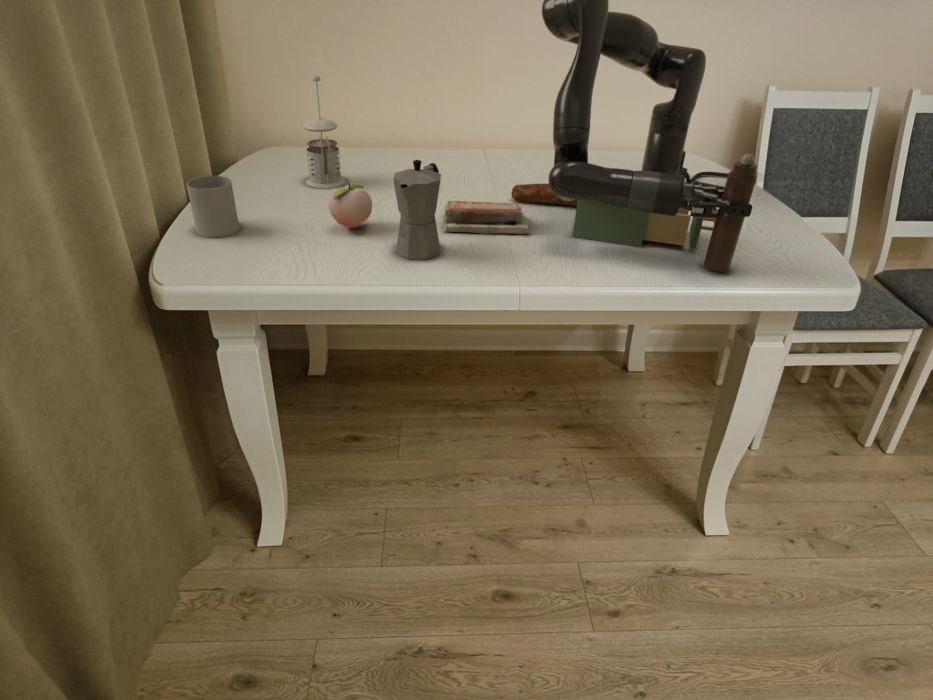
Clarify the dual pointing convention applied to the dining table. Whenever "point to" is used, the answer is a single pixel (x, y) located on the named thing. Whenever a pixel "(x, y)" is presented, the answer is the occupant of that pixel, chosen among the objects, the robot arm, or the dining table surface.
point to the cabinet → (609, 223)
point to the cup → (213, 206)
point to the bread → (538, 194)
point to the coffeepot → (417, 211)
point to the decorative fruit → (350, 205)
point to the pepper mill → (730, 226)
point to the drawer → (674, 228)
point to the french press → (323, 154)
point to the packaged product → (484, 217)
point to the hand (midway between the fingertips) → (749, 205)
